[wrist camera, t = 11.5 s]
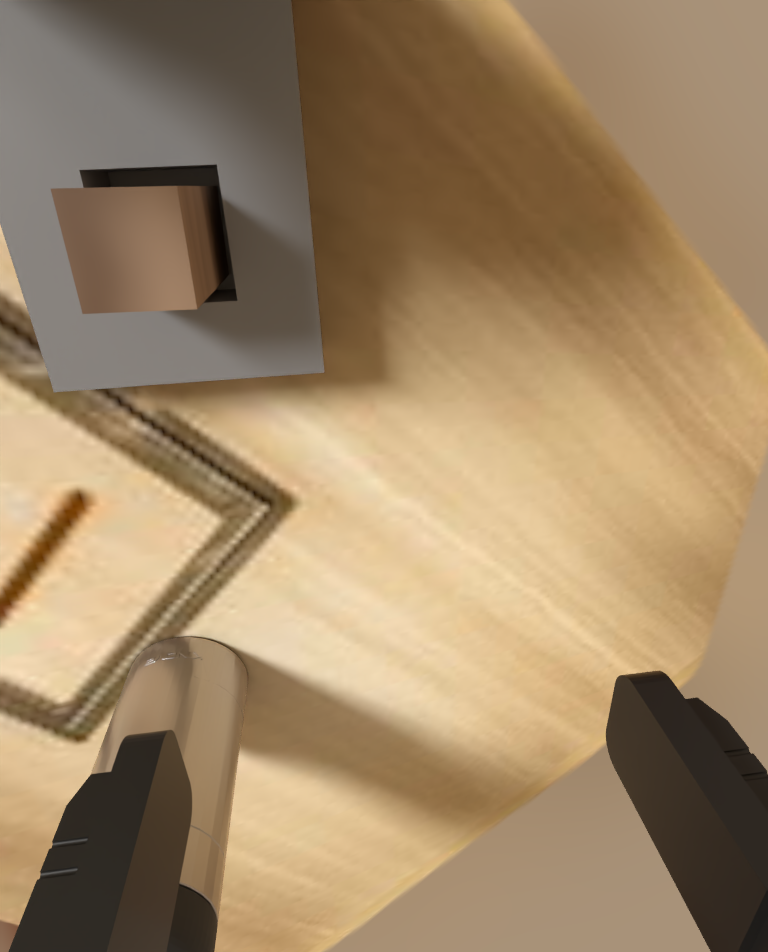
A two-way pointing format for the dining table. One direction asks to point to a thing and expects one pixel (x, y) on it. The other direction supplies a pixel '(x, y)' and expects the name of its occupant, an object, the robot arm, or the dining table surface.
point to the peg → (142, 246)
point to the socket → (161, 178)
